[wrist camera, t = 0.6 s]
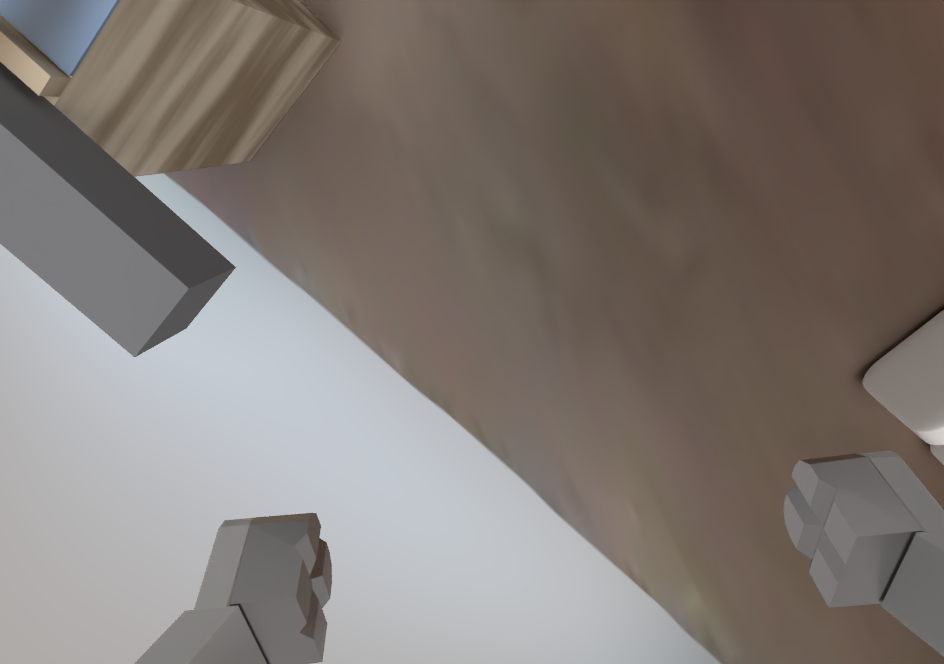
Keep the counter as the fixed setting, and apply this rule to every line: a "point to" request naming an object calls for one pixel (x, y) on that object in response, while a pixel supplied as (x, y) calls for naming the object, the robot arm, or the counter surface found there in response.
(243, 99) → the duct stand
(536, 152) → the counter surface
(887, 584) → the robot arm
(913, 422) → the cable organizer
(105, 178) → the dark gray block
